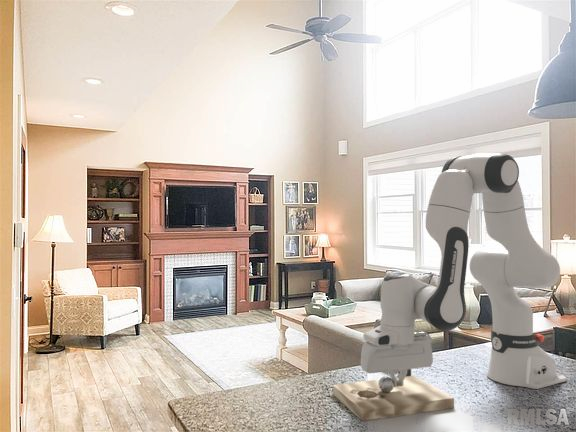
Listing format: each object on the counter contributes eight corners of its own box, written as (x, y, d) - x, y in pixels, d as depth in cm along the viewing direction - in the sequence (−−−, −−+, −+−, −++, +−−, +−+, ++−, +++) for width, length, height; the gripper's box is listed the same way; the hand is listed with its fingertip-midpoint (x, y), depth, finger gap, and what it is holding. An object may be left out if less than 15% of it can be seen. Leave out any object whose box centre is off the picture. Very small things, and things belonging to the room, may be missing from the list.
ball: (376, 374, 125) (374, 389, 125) (384, 378, 121) (382, 394, 121) (389, 374, 126) (387, 389, 126) (397, 379, 122) (395, 394, 122)
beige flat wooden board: (414, 384, 137) (414, 375, 137) (454, 407, 119) (454, 397, 119) (332, 394, 129) (332, 385, 129) (362, 420, 111) (362, 410, 111)
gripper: (423, 328, 131) (424, 378, 131) (358, 334, 124) (358, 386, 124) (437, 333, 125) (437, 385, 125) (369, 339, 118) (369, 394, 118)
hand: (397, 385), depth 124 cm, fingers closed
